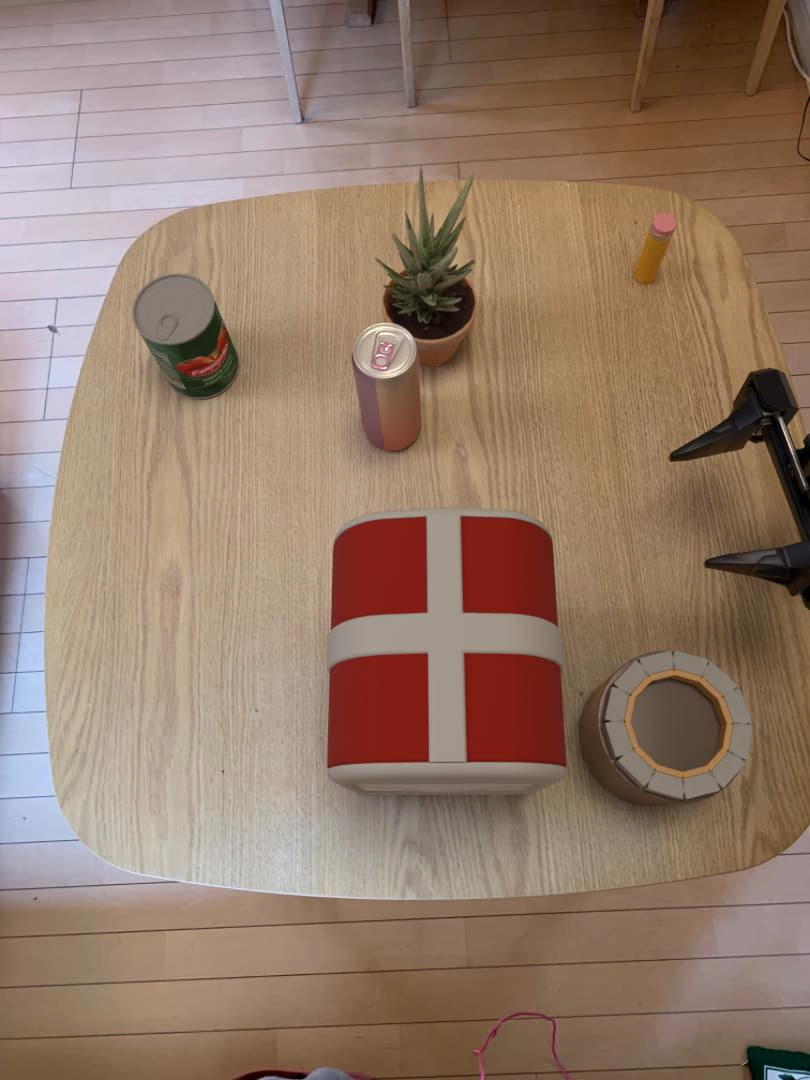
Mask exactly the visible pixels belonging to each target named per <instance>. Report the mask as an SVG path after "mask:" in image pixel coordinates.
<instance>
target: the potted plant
mask: <svg viewBox="0 0 810 1080" xmlns="http://www.w3.org/2000/svg"><path fill="white" fill-rule="evenodd" d="M474 175H475V171H472V172H471V174H470V175H469V177H468V179H467V181H466V182H465V184H464V186H463V188H462V189H461V191H460V192H459V194H458V196H457V197H456V199H455V201H454V203H453V204H452V206H451V208H450V210H449V212H448V213H447V215H446V217H445V219H444V221H443V223H442V225H441V227H440V228H439V229H438V231H437V233H436V234H435V217H434V212H432V214H431V215H430V219H429V214H428V209H427V201H426V194H425V185H424V172H423V167H422V165H421V164H420V165H419V169H418V183H417V185H418V187H417V191H418V192H417V194H418V228H419V229H418V230H419V231H418V239H417V236H416V235H417V234H416V233H415V229H414V228H413V225H412V223H411V221H410V218H409V215H408V213H407V211H404V221H405V222H404V223H405V228H406V235H407V242H408V246H409V247H408V246H407V245H405V244H404V243H403V242H402V241H401V239H399V237H398V236H397V235H396V233H395V232H393V233H391V237H392V241H393V242H394V244H395V246H396V248H397V249H398V256H399V258H400V261H401V263H402V266H403V269H402V270H400V271H398V272H397V271H395V270H394V269H393V268H391V267H390V266H388V265H387V264H386V263H384V262H383V261H382V260H381V259H379V258H378V257H376V256H373V258H374V260H375V261H376V262H377V263H378V265H380V266H381V267H382V268H383V269H384V270H385V271H386V272H387V273H386V276H388V277H389V278H390V280H389V281H388V282H387V284H383V286H382V287H383V288H384V290H383V292H382V297H381V314H382V318H383V323H394V324H397V325H400V326H402V327H404V328H405V329H407V330H408V331H409V332H410V333H411V335H412V336H413V338H414V339H415V342H416V345H417V347H418V350H419V361H420V366H423V367H438V366H440V365H442V364H443V363H446V362H447V361H449V360H450V359H451V358H452V357H453V355H454V353H455V352H456V350H457V348H458V346H459V344H460V343H461V341H462V340H464V339H465V338H466V337H467V335H468V334H470V332H471V330H472V328H473V327H474V323H475V321H476V318H477V311H478V297H477V293H476V290H475V287H474V285H473V283H472V282H471V281H470V279H469V278H468V277H467V276H468V275H470V274H471V272H473V268H472V266H473V265H474V264H475V263H476V259H471V260H470V261H468V262H467V263H466V264H463V265H462V266H461V267H458V266H459V264H458V263H455V264H454V265H452V266H451V264H452V263H453V261H454V260H455V258H456V256H457V254H458V251H459V245H457V246H456V243H457V241H458V240H459V237H460V235H461V233H462V231H463V228H464V225H465V222H466V219H467V218H466V216H463V217H462V218H461V220H460V221H459V222H458V224H457V225H456V223H457V221H458V219H459V217H460V215H461V212H462V210H463V208H464V205H465V203H466V200H467V198H468V195H469V193H470V191H471V188H472V185H473V181H474ZM429 220H430V221H429ZM455 225H456V226H455ZM454 227H455V228H454Z"/></svg>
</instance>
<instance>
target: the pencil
mask: <svg viewBox="0 0 810 1080" xmlns="http://www.w3.org/2000/svg"><path fill="white" fill-rule="evenodd" d="M676 227H677V220H676V218H675V216H673V215H672V214H671V213H667V212H661V213H659V214H657V215H655V216H654V217H653V220H652V222H651V224H650V227H649V229H648V232H647V235H646V238H645V240H644V243H643V246H642V249H641V251H640V254H639V256H638V257H639V258H638V260H637V263H636V266H635V268H634V271H633V276H634V280H636V281H637V282H638V283H640V284H644V285H647V284H651V283H653V282H654V281H655V280H656V278H657V275H658V274H659V271H660V269H661V265H662V264H663V261H664V258H665V256H666V253H667V251H668V248H669V246H670V243H671V241H672V238H673V236H674V233H675V231H676Z"/></svg>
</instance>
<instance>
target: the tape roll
mask: <svg viewBox="0 0 810 1080" xmlns="http://www.w3.org/2000/svg"><path fill="white" fill-rule="evenodd" d="M664 651H665V652H661V653H657V654H653V655H649V656H645V657H641V658H639V659H638V660H637V661H636V660H635V661H634V662H633V663H632V664H631V665H630V666H629V667H628V668H627V669H626V670H625V671H624V672H623V673H622V674H621V675H620V676H619V677H618V678H617V679H616V680H615V681H614V682H613V683H612V684H611V685H610V687H611V688H609V689H608V692H607V697H606V701H605V706H604V710H603V715H602V720H601V721H602V722H605V723H604V724H603V725H602V729H603V732H604V735H605V739H606V742H607V745H608V748H609V751H610V755H611V758H612V759H613V758H617V757H618V758H617V759H616V760H615V764H616V765H617V766H618V767H619V768H620V769H621V770H622V771H623V772H624V773H625V774H626V775H627V776H629V777H630V778H631V779H632V780H633V781H634V782H635V783H636V784H637V785H638V786H639V787H644V790H646V791H649V792H653V793H656V794H659V795H663V796H666V797H670V798H673V799H676V800H678V799H681V800H685V799H690V798H694V797H698V796H701V795H705V794H709V793H713V792H717V791H720V789H722V788H724V787H725V786H726V785H727V784H728V783H729V782H730V781H731V780H732V779H733V777H734V776H735V775H736V774H737V773H738V772H739V773H740V771H741V770H742V769H743V767H744V766H745V765H746V762H745V761H748V760H749V753H750V749H751V741H752V735H753V729H754V726H753V725H751V723H753V720H752V716H751V714H750V712H749V709H748V707H747V703H746V701H745V698H744V696H743V693H742V690H741V688H737V687H738V684H737V683H736V682H735V681H734V680H733V679H732V678H731V677H729V676H728V675H727V674H726V673H725V672H724V671H723V670H722V669H721V668H719V667H718V666H717V665H716V664H715V663H714V662H713V661H709V659H708V658H705V657H701V656H698V655H695V654H691V653H687V652H684V651H679V650H664ZM671 651H673V652H671ZM708 661H709V662H708ZM707 662H708V664H707ZM669 678H671V679H675V680H679V681H682V682H686V683H689V684H693V685H695V686H696V687H697V688H698V689H699V690H700V691H701V692H702V693H703V694H704V695H705V696H707V697H708V698H709V699H710V700H711V701H712V702H713V705H714V708H715V711H716V713H717V716H718V719H719V722H720V724H721V728H720V734H719V740H718V745H717V750H716V751H715V752H714V753H713V754H712V755H711V756H710V757H709V759H708V760H707V761H706V762H705V763H704V764H703V765H702V766H701V767H698V768H695V769H691V770H687V771H683V772H681V771H678V770H674V769H671V768H668V767H664V766H661V765H657V764H656V763H655V762H654V761H653V760H652V759H651V758H650V757H649V756H648V755H647V754H646V753H645V752H644V751H643V750H642V749H641V748H640V747H639V746H638V743H637V740H636V737H635V734H634V731H633V728H632V725H631V717H632V712H633V707H634V702H635V698H636V697H637V696H638V695H639V694H640V693H641V692H642V691H643V689H644V688H645V687H646V686H647V685H648V684H649V683H653V682H657V681H661V680H665V679H669ZM736 688H737V689H736ZM734 689H736V690H734ZM748 724H749V725H748ZM744 760H745V761H744ZM739 773H738V774H739ZM738 774H737V775H738ZM724 789H725V788H724ZM720 792H721V791H720Z"/></svg>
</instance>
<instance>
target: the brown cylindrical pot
mask: <svg viewBox="0 0 810 1080" xmlns="http://www.w3.org/2000/svg"><path fill="white" fill-rule="evenodd" d="M665 651H666V650H659V651H658V650H657V651H652V652H647V653H645V654H641V655H638V656H636V657H634V658H632V659H630V660H629V661H627V662H626V663H624V664H623V665H622V666H621V667H619V669H617V670H616V671H615V672H614V673H613V674H612V675H610V676H609V677H608V678H607V679H605V680H604V681H603V682H602V683H601V684H600V685H599V686H598V687H597V688H596V689H595V690H594V691H593V692H592V693H591V694H590V696H589V697H588V699H587V701H586V702H585V704H584V707H583V708H582V711H581V715H580V719H579V724H578V742H579V746H580V747H579V748H580V752H581V755H582V757H583V760H584V763H585V765H586V766H587V769H588V770H589V772H590V773H591V775H592V776H593V777H594V779H595V780H596V781H597V782H598V784H600V785H601V787H603V788H604V789H605V790H606V791H607V792H609V793H610V794H611V795H613V796H614V797H616V798H618V799H619V800H622V801H625V802H627V803H630V804H633V805H636V806H637V805H638V806H642V807H661V806H662V807H663V806H671V805H681V804H690V803H697V802H701V801H703V800H706V799H709V798H712V797H713V796H716V795H717V794H719V793H721V791H723V790H725V789H726V788H727V787H728V786H729V785H730V784H731V783H732V782H733V781H734V780H735V778H736V777H737V776H738V775H739V773H740V771H739V772H738V773H737V774H736V775H735V776H734V777H733V779H732V780H731V781H730V782H729V783H728V784H727V785H726V786H725V787H724V788H722V789H720V791H717V792H713V793H709V794H705V795H701V796H698V797H694V798H690V799H685V800H681V799H678V800H676V799H673V798H670V797H666V796H663V795H659V794H656V793H653V792H649V791H646V790H644V787H639V786H638V785H637V784H636V783H635V782H634V781H633V780H632V779H631V778H630V777H629V776H627V775H626V774H625V773H624V772H623V771H622V770H621V769H620V768H619V767H618V766H617V765H616V764H615V760H616V759H617V758H618V757H617V758H613V759H612V758H611V755H610V751H609V748H608V745H607V742H606V739H605V735H604V732H603V729H602V725H603V724H604V723H605V722H602V721H601V720H602V715H603V710H604V706H605V701H606V697H607V692H608V689H609V688H611V687H610V685H611V684H612V683H613V682H614V681H615V680H616V679H617V678H618V677H619V676H620V675H621V674H622V673H623V672H624V671H625V670H626V669H627V668H628V667H629V666H630V665H631V664H632V663H633V662H634V661H635V660H636V661H637V660H638V659H639V658H641V657H645V656H649V655H653V654H657V653H661V652H665ZM670 651H671V652H673V651H674V650H670ZM708 663H709V662H707V664H708ZM734 690H737V689H736V688H735V689H734ZM631 725H632V728H633V731H634V734H635V737H636V740H637V743H638V746H639V747H640V748H641V749H642V750H643V751H644V752H645V753H646V754H647V755H648V756H649V757H650V758H651V759H652V760H653V761H654V762H655V763H656V764H657V765H661V766H664V767H668V768H671V769H674V770H678V771H681V772H683V771H687V770H691V769H695V768H698V767H701V766H702V765H703V764H704V763H705V762H706V761H707V760H708V759H709V757H710V756H711V755H712V754H713V753H714V752H715V751H716V750H717V745H718V740H719V734H720V728H721V724H720V722H719V719H718V716H717V713H716V711H715V708H714V705H713V702H712V701H711V700H710V699H709V698H708V697H707V696H705V695H704V694H703V693H702V692H701V691H700V690H699V689H698V688H697V687H696V686H695V685H693V684H689V683H686V682H682V681H679V680H675V679H671V678H669V679H665V680H661V681H657V682H653V683H649V684H648V685H647V686H646V687H645V688H644V689H643V691H642V692H641V693H640V694H639V695H638V696H637V697H636V698H635V702H634V707H633V712H632V717H631ZM748 725H750V723H749V724H748ZM745 761H746V760H744V762H745Z"/></svg>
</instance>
